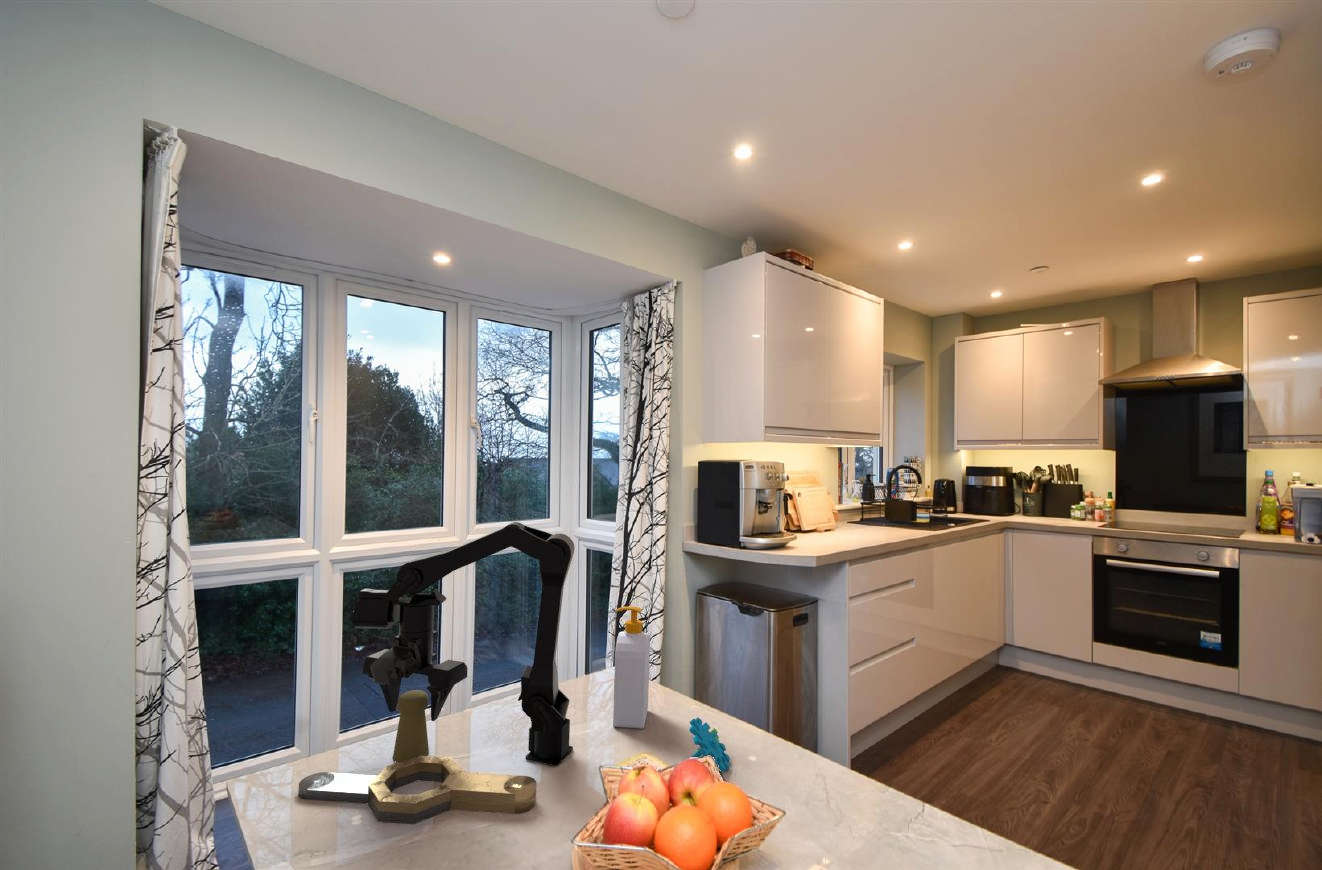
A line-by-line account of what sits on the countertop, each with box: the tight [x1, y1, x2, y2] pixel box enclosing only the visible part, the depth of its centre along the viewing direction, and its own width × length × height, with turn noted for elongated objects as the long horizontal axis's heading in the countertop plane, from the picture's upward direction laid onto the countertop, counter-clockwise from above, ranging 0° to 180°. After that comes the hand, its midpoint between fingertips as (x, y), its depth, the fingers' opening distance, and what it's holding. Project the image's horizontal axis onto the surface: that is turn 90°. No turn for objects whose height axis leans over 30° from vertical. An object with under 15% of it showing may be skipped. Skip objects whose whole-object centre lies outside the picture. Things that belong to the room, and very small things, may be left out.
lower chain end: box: [297, 771, 452, 825], centre depth 94 cm, size 26×13×2 cm, turn 86°
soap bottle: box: [612, 605, 651, 729], centre depth 123 cm, size 9×7×23 cm
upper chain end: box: [368, 755, 538, 815], centre depth 93 cm, size 26×13×3 cm, turn 86°
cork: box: [392, 689, 430, 763], centre depth 106 cm, size 6×6×11 cm
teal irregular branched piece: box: [688, 717, 731, 773], centre depth 106 cm, size 11×6×10 cm
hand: (413, 716), depth 106 cm, fingers open, 9 cm apart
